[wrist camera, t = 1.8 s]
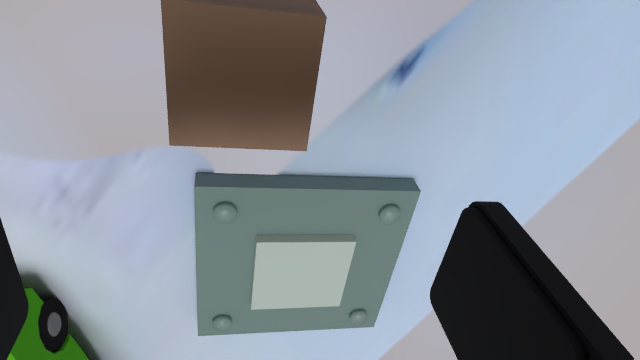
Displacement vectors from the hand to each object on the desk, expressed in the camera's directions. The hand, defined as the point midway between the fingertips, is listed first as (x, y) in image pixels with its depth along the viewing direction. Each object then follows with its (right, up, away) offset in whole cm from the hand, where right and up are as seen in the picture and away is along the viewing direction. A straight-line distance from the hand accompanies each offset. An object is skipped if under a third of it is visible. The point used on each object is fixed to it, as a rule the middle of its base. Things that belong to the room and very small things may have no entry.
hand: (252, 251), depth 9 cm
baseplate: (0, -3, +17) cm, 18 cm away
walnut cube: (-2, +8, +9) cm, 12 cm away
